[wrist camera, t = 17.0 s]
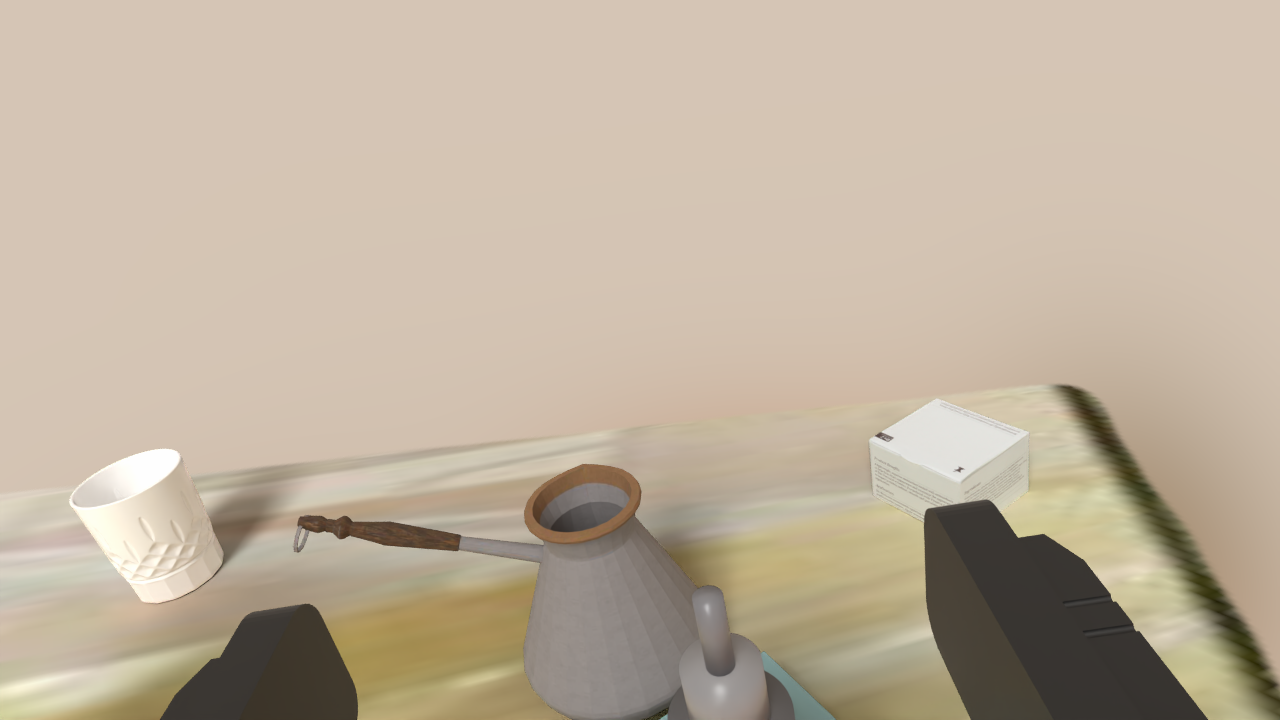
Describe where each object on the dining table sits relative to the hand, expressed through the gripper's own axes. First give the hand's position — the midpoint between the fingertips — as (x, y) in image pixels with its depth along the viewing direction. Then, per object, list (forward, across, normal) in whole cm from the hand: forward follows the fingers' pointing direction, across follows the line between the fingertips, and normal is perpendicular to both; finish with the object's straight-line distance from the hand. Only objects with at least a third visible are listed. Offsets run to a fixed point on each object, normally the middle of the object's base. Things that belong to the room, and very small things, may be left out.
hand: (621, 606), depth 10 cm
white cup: (+44, +43, +30) cm, 69 cm away
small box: (+38, -18, +30) cm, 52 cm away
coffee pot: (+27, +10, +30) cm, 42 cm away
